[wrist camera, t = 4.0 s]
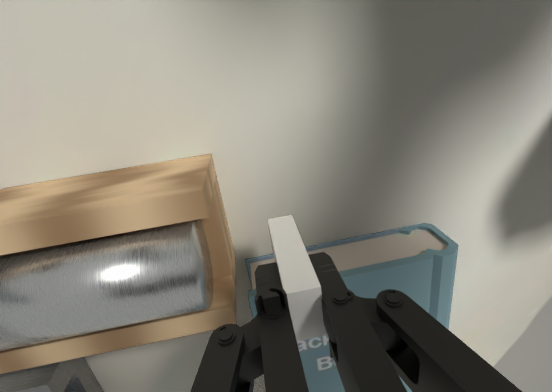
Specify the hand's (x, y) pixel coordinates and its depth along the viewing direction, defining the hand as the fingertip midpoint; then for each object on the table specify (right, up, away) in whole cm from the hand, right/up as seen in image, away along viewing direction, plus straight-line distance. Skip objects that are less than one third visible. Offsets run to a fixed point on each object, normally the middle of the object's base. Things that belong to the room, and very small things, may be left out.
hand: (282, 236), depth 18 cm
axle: (-11, -2, -2) cm, 11 cm away
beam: (-14, 0, +4) cm, 15 cm away
